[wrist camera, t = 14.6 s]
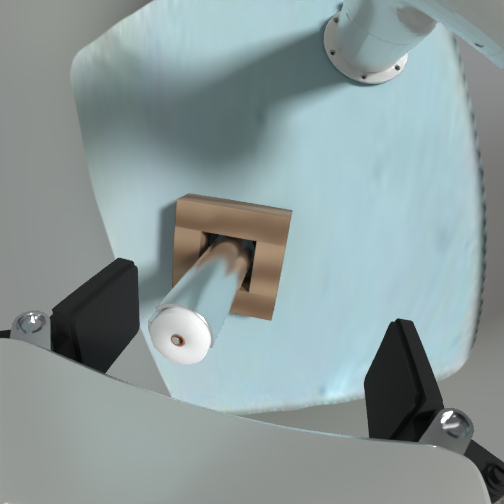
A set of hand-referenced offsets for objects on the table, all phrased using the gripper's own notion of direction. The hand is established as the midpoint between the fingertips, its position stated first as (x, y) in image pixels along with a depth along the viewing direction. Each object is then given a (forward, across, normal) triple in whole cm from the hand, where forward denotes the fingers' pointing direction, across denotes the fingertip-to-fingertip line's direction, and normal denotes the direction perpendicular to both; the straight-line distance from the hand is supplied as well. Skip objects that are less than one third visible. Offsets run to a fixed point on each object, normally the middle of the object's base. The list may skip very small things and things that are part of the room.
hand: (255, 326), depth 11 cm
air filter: (+37, +8, +13) cm, 40 cm away
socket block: (+37, +8, +13) cm, 40 cm away
